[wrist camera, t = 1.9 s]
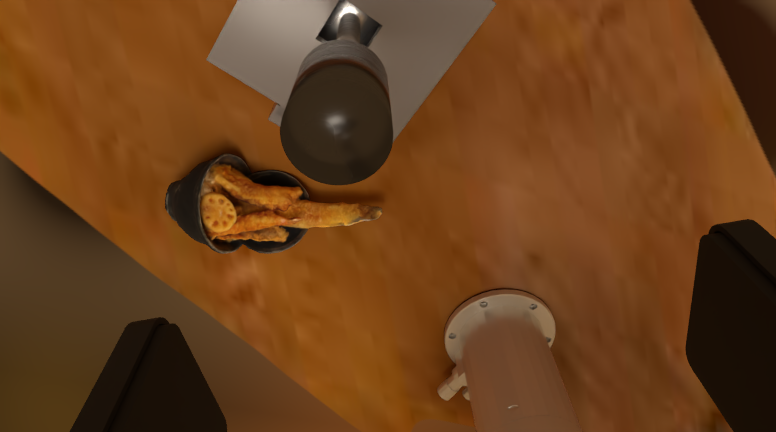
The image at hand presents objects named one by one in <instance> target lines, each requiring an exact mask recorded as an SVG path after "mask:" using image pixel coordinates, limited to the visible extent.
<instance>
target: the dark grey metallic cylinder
mask: <svg viewBox="0 0 776 432" xmlns="http://www.w3.org/2000/svg"><path fill="white" fill-rule="evenodd" d="M380 25H381V24H379V23H378V22H377V21H375V20H374V19H372V18H371V17H370V16H368V15H367V14H365V13H364V12H363V11H361V10H360V9H358V8H357V7H355V6H354V5H353V4H351V3H350V2H348V1H347V0H339V1H338V3H337V5H336V6H335V8H334V9H333V11H332V13H331V14H330V16H329V18H328V19H327V21H326V23H325V24H324V26H323V27H322V29H321V31H320V32H319V34H318V36H320V37H321V38H323V39H324V40H326V41H327V42H325V43H322V44H320V45H318V46H317V47H315V48H314V49H313V50H311V51H310V52H309V53H308V54H307V56H306V57H305V58H304V60H303V62H302V64H301V66H300V68H299V71H298V74H297V77H296V80H295V82H294V85H293V88H292V91H291V94H290V96H289V99H288V102H287V105H286V108H285V110H284V113H283V116H282V120H281V125H280V136H281V142H282V146H283V148H284V151H285V153H286V155H287V157H288V158H289V160H290V161H291V163H292V164H293V165H294V166H295V167H296V168H297V169H298V170H299V171H300V172H301V173H303V174H304V175H306V176H307V177H309V178H311V179H313V180H315V181H318V182H321V183H325V184H330V185H347V184H352V183H356V182H359V181H362V180H364V179H366V178H368V177H369V176H371V175H372V174H374V173H375V172H376V171H377V170H378V169H379V168H380V167H381V166H382V165H383V164H384V162H385V161H386V159H387V158H388V155H389V153H390V151H391V148H392V143H393V123H392V114H391V105H390V95H389V86H388V77H387V73H386V70H385V68H384V65H383V64H382V62H381V60H380V59H379V58H378V56H377V55H376V54H375V53H374V52H373V51H372V50H370V49H369V48H368V47H366V46H367V44H368V43H369V41H370V40H371V38H372V37H373V35H374V34H375V32H376V31H377V29H378V28H379V26H380Z"/></svg>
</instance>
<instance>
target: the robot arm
mask: <svg viewBox="0 0 776 432" xmlns="http://www.w3.org/2000/svg"><path fill="white" fill-rule="evenodd" d="M555 333H556V327H555V321H554V319H553V316H552V314H551V312H550V310H549V308H548V307H547V306H546V305H545V304H544V303H543V301H542V300H540V299H538V298H537V297H535V296H534V295H531V294H529V293H526V292H523V291H518V290H507V289H503V290H493V291H489V292H485V293H482V294H479V295H477V296H475V297H472V298H471V299H469V300H467V301H466V302H464V303H463V304H462V305H460V306H459V307H458V308H457V309H456V310H455V311H454V312H453V314H452V315H451V316H450V318H449V320H448V322H447V324H446V327H445V331H444V341H445V347H446V350H447V353H448V355H449V357H450V358H451V359H452V361H453V362H454V363H455V364H456V367H455V368H454V369H453V370H452V375H451V376H450V377H449V378H447V379H446V380H445V381H444V382H443V383H442V384H441V385H439V386H438V388H437V392H438V394H439V395H440V397H441V398H442V399H444V400H449V399H450V398H452V397H453V396H454V395H455V394H456V393H457V392H458V391H459V389H460V388H461V387H462V386H467V387H466V388H465V389H464V390H463V391H462V394H463V396H464V397H465V399H467V400H470V403H471V408H472V413H473V418H474V423H475V428H476V432H582V429H581V427H580V424H579V422H578V419H577V416H576V414H575V411H574V409H573V406H572V404H571V401H570V399H569V396H568V393H567V391H566V388H565V386H564V383H563V381H562V378H561V376H560V373H559V370H558V368H557V365H556V363H555V360H554V358H553V355H552V353H551V350H550V348H551V346H552V344H553V341H554V339H555ZM686 355H687V359H688V362H689V364H690V366H691V368H692V370H693V371H694V373H695V374H696V376H697V377H698V379H699V380H700V382H701V383H702V385H703V386H704V388H705V389H706V391H707V392H708V394H709V395H710V397H711V398H712V400H713V401H714V403H715V404H716V406H717V407H718V409H719V410H720V412H721V413H722V415H723V416H724V418H725V419H726V421H727V422H728V424H729V425H730V427H731V428H732V430H733V431H734V432H776V239H775V238H774V237H773V236H772V235H771V234H769V233H768V232H767V231H766V230H765V229H764V228H763V227H761V226H760V225H759V224H758V223H757V222H755V221H753V220H749V219H747V220H741V221H735V222H729V223H723V224H717V225H714V226H712V227H711V229H710V230H709V234H708V235H704V236H702V238H701V239H700V243H699V250H698V258H697V265H696V273H695V280H694V288H693V295H692V303H691V310H690V318H689V325H688V333H687V340H686ZM70 432H227V424H226V420H225V417H224V415H223V413H222V411H221V409H220V407H219V405H218V403H217V402H216V399H215V398H214V396H213V394H212V392H211V390H210V388H209V386H208V384H207V382H206V380H205V378H204V376H203V374H202V372H201V370H200V368H199V366H198V364H197V362H196V360H195V358H194V356H193V354H192V352H191V350H190V348H189V346H188V345H187V343H186V341H185V339H184V337H183V335H182V333H181V331H180V329H179V327H178V326H177V325H176V324H169V322H168V321H167V320H166V319H165V318H161V317H159V318H154V319H147V320H141V321H136V322H131V323H130V324H128V325H127V326H126V328H125V330H124V332H123V333H122V335H121V337H120V339H119V341H118V343H117V344H116V346H115V348H114V350H113V352H112V354H111V356H110V357H109V359H108V361H107V363H106V365H105V367H104V369H103V371H102V373H101V374H100V376H99V378H98V380H97V382H96V384H95V386H94V388H93V389H92V391H91V393H90V395H89V397H88V399H87V400H86V402H85V405H84V406H83V408H82V410H81V412H80V414H79V415H78V417H77V419H76V421H75V423H74V425H73V427H72V428H71V430H70Z"/></svg>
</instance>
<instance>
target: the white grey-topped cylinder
mask: <svg viewBox="0 0 776 432" xmlns="http://www.w3.org/2000/svg"><path fill="white" fill-rule="evenodd" d="M338 1H339V0H238V1H237V3H236V5H235V7H234V8H233V10H232V12H231V14H230V16H229V18H228V20H227V22H226V24H225V25H224V27H223V29H222V31H221V33H220V35H219V37H218V39H217V41H216V43H215V44H214V46H213V48H212V50H211V52H210V54H209V56H208V58H207V61H209V62H210V63H212V64H214V65H215V66H217V67H219V68H220V69H222V70H224V71H225V72H227V73H228V74H230V75H232V76H233V77H235V78H237V79H238V80H240V81H242V82H243V83H245V84H247V85H248V86H250V87H251V88H253V89H255V90H256V91H258V92H260V93H261V94H263V95H265V96H266V97H268V98H269V99H271V100H273V101H274V102H275V103H274V106H273V108H272V111H271V113H270V116H269V118H268V120H270V121H272V122H273V123H275V124H277V125H278V126H280V125H281V120H282V116H283V113H284V110H285V108H286V105H287V102H288V99H289V96H290V94H291V91H292V88H293V85H294V82H295V80H296V77H297V74H298V71H299V68H300V66H301V64H302V62H303V60H304V58H305V57H306V56H307V54H308V53H309V52H310V51H311V50H313V49H314V48H315V47H317V46H318V45H320V44H322V43H325V42H327V41H326V40H324V39H323V38H321V37H320V36H318V34H319V32H320V31H321V29H322V27H323V26H324V24H325V23H326V21H327V19H328V18H329V16H330V14H331V13H332V11H333V9H334V8H335V6H336V5H337V3H338ZM347 1H348V2H350V3H351V4H353V5H354V6H355V7H357V8H358V9H360V10H361V11H363V12H364V13H365V14H367V15H368V16H370V17H371V18H372V19H374V20H375V21H377V22H378V23H379V24H381V25H380V26H379V28H378V29H377V31H376V32H375V34H374V35H373V37H372V38H371V40H370V41H369V43H368V44H367V46H366V47H368V48H369V49H370V50H372V51H373V52H374V53H375V54H376V55H377V56H378V58H379V59H380V60H381V62H382V64H383V65H384V68H385V70H386V73H387V77H388V86H389V95H390V105H391V114H392V123H393V142H394V140H395V139H396V138H397V136H398V135H399V134H400V132H401V131H402V130H403V128H404V127H405V126H406V124H407V123H408V122H409V120H410V119H411V118H412V116H413V115H414V114H415V112H416V111H417V110H418V108H419V107H420V106H421V104H422V103H423V102H424V100H425V99H426V98H427V96H428V95H429V94H430V92H431V91H432V90H433V88H434V87H435V86H436V84H437V83H438V82H439V80H440V79H441V78H442V76H443V75H444V73H445V72H446V71H447V69H448V68H449V67H450V65H451V64H452V63H453V61H454V60H455V59H456V57H457V56H458V55H459V53H460V52H461V51H462V49H463V48H464V47H465V45H466V44H467V43H468V41H469V40H470V39H471V37H472V36H473V35H474V33H475V32H476V31H477V29H478V28H479V27H480V25H481V24H482V23H483V21H484V20H485V19H486V17H487V16H488V15H489V13H490V12H491V11H492V9H493V8H494V7H495V5H496V3H495V2H494V1H493V0H347Z"/></svg>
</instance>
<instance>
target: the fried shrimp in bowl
mask: <svg viewBox="0 0 776 432" xmlns="http://www.w3.org/2000/svg"><path fill="white" fill-rule="evenodd" d="M167 191H168V192H167V193H166V199H165V208H166V210H167V212H168V213H169V215H170V216H171V218H172V219H173V220H174V221H177V223H178V225H179V226H180V227H181V228H182V229H183V230H184V231H185V232H186V233H187V234H188V235H189V236H190V237H191V238H193V239H194V240H196V241H198V242H200V243H203V244H206V245H208V246H209V247H210V248H211V249H212V250H214V251H216V252H218V253H231V252H234V251H236V250H237V249H238V248H239V247H240V246H241V245H242V244H244V245H246V246H247V247H248V248H249V249H252V250H254V251H257V252H259V253H278V252H282V251H284V250H286V249H289V248H291V247H292V246H294V245H295V244H297V243H298V242H299V241H300V240H301V239H302V237H303V236H304V235H305V233H306V232H307V230H308V228H310V227H316V226H317V227H332V226H340V225H344V226H348V225H352V224H355V223H358V222H361V221H371V220H376V219H378V218H379V217H380V215H381V214H382V208H380V207H370V206H368V205H366V206H362V205H360V204H359V203H355V204H346V203H344V202H340V203H318V202H313V201H310V198H309V195H308V193H307V191H306V190H305V188H304V187H303V186H302V185H301V184H300V183H299V182H298V180H297V179H295V178H294V177H292V176H291V175H289V174H287V173H284V172H281V171H275V170H267V171H260V172H256V173H253V174H252V173H251V171H250V170H249V168H248V166H247V164H246V163H245V162H244V161H243V160H242V159H241V158H240V157H238V156H236V155H233V154H222V155H220V156H218V157H216V158H214V159H213V160H211V161H206V162H203V163H201V164H199V165H198V166H196V167H195V168H194V169H193V170H192V171H191V172H190V173H189V174H188V175H187V176H186V177H184V178H183V179H182V180H179V181H176V182H173V183H171V184H170V185H169V187H168V190H167Z"/></svg>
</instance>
